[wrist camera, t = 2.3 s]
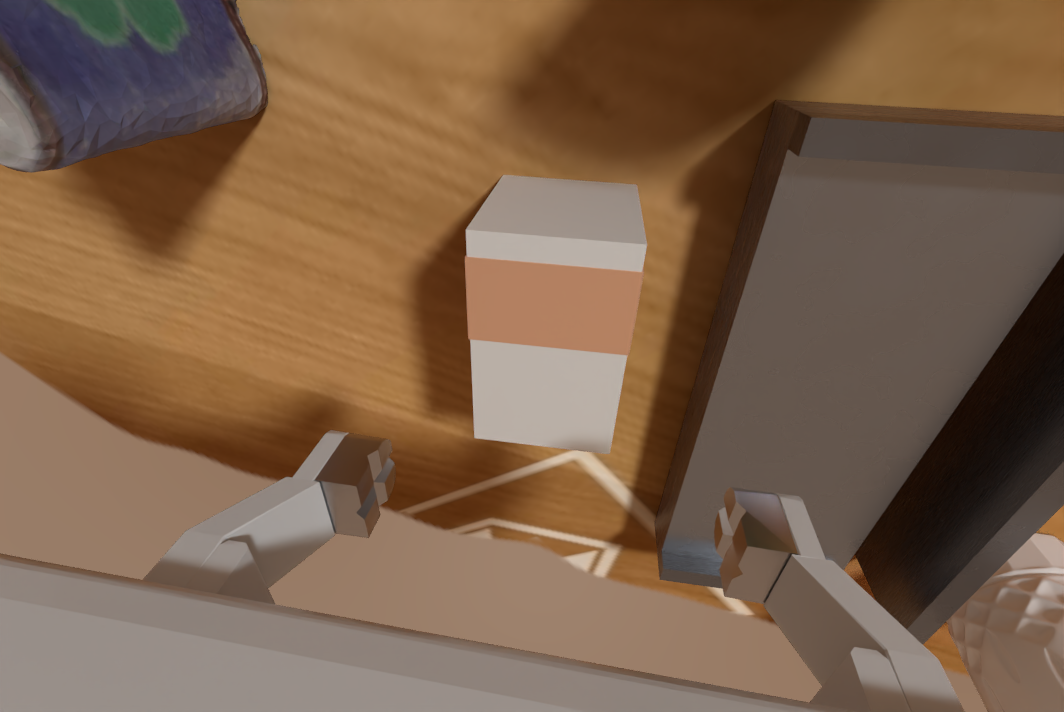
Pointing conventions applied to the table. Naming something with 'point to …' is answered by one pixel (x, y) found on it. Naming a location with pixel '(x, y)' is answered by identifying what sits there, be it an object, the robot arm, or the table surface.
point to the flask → (119, 75)
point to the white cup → (1017, 631)
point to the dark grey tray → (887, 350)
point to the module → (552, 309)
